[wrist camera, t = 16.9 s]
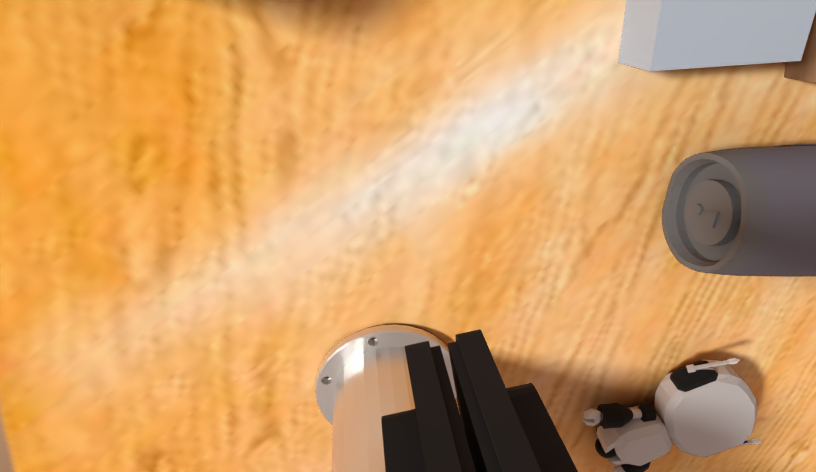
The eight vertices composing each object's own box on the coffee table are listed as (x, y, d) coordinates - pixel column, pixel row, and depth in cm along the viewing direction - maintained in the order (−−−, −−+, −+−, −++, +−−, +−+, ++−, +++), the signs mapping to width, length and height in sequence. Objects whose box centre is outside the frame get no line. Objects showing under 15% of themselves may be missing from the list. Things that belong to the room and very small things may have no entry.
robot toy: (603, 460, 54) (742, 409, 51) (621, 500, 50) (772, 446, 47) (566, 390, 48) (718, 328, 45) (582, 427, 44) (751, 362, 41)
